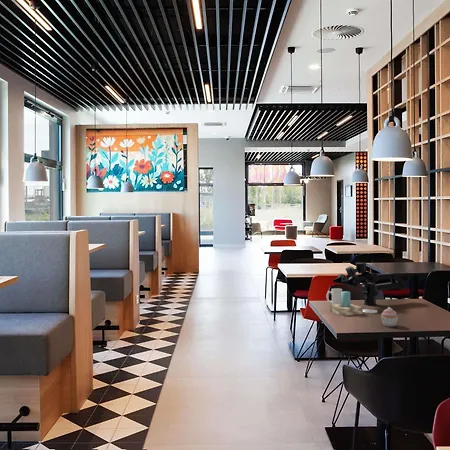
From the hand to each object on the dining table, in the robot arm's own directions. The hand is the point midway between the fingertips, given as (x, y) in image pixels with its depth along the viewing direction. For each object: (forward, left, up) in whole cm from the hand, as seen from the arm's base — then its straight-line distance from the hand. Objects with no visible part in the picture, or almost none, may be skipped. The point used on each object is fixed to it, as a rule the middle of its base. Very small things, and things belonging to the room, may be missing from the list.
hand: (336, 281), depth 311 cm
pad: (-10, +19, -17) cm, 27 cm away
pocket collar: (+4, +16, -17) cm, 24 cm away
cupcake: (+2, +55, -17) cm, 58 cm away
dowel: (+4, +16, -17) cm, 24 cm away
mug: (+2, -1, -17) cm, 17 cm away
